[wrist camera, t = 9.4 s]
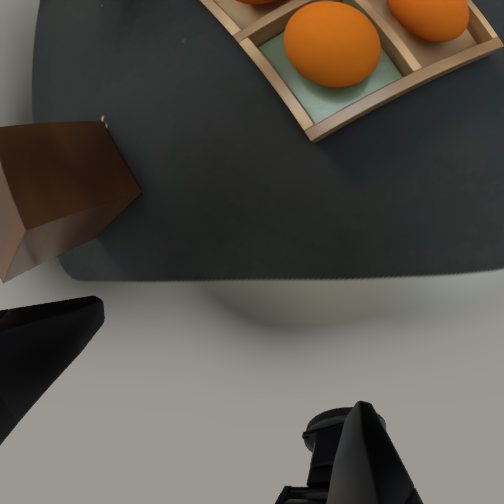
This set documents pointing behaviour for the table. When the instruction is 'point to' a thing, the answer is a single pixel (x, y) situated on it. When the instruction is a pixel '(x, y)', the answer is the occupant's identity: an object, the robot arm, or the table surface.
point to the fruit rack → (367, 91)
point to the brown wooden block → (57, 190)
